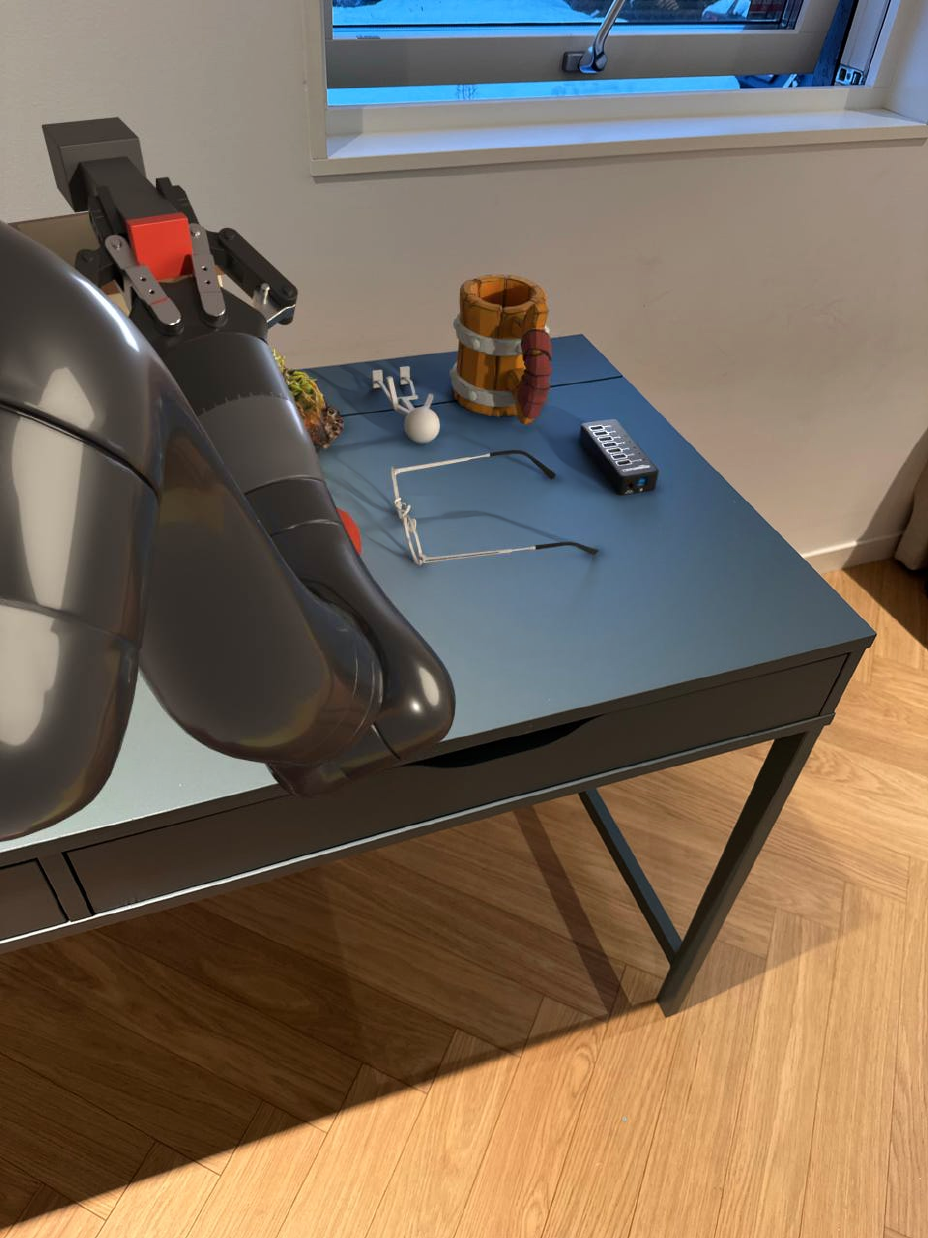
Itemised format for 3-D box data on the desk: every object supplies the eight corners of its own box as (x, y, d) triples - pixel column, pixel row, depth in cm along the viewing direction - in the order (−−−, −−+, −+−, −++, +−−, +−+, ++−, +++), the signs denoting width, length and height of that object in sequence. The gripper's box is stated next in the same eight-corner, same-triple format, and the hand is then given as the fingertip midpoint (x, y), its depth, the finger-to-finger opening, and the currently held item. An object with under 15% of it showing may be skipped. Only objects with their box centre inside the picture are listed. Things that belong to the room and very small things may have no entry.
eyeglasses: (379, 490, 93) (378, 449, 90) (550, 470, 97) (555, 430, 94) (412, 591, 82) (412, 548, 79) (603, 564, 86) (611, 522, 83)
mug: (515, 365, 114) (525, 245, 104) (578, 431, 103) (597, 305, 93) (436, 380, 111) (439, 257, 100) (493, 449, 100) (503, 320, 90)
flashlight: (125, 286, 51) (109, 211, 48) (57, 190, 62) (40, 123, 59) (211, 271, 53) (200, 198, 50) (131, 180, 64) (118, 116, 61)
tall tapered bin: (141, 631, 77) (43, 288, 57) (105, 551, 85) (6, 222, 64) (274, 588, 82) (228, 256, 61) (228, 516, 89) (173, 199, 69)
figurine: (417, 340, 107) (458, 393, 96) (418, 389, 111) (457, 444, 100) (366, 346, 106) (402, 400, 95) (369, 395, 109) (403, 453, 98)
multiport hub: (612, 435, 103) (616, 417, 101) (656, 489, 96) (660, 471, 94) (577, 440, 102) (579, 422, 100) (618, 496, 94) (622, 477, 93)
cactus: (248, 385, 108) (237, 306, 101) (369, 414, 104) (366, 335, 97) (162, 458, 96) (144, 374, 89) (295, 494, 92) (286, 410, 86)
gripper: (365, 375, 50) (248, 127, 53) (104, 436, 44) (-7, 155, 47) (342, 443, 56) (240, 219, 60) (113, 503, 51) (15, 253, 54)
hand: (131, 192), depth 54 cm, fingers closed on flashlight, 3 cm apart
